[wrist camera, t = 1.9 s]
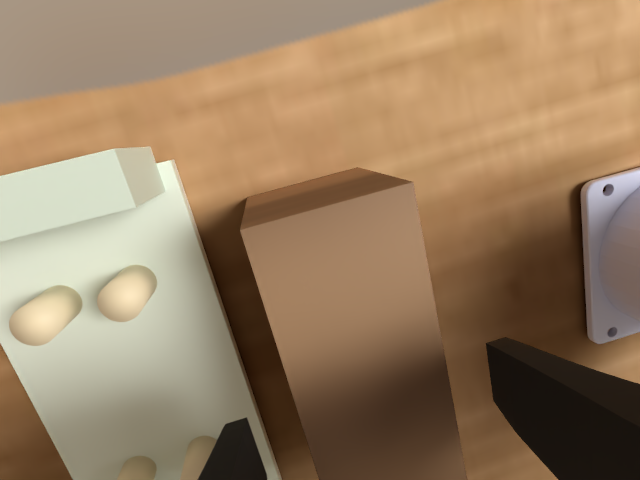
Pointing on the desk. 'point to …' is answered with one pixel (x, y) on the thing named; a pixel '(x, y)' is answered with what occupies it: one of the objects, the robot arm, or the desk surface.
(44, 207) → the peg frame
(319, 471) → the brown rectangular block
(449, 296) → the desk surface
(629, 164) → the desk surface
